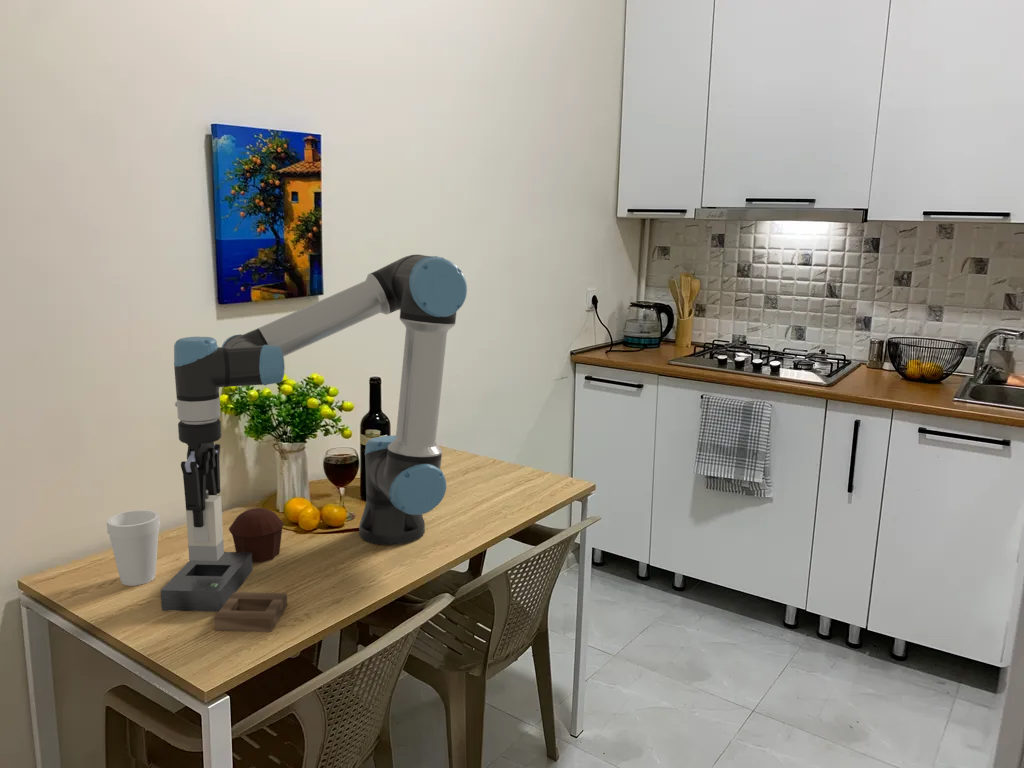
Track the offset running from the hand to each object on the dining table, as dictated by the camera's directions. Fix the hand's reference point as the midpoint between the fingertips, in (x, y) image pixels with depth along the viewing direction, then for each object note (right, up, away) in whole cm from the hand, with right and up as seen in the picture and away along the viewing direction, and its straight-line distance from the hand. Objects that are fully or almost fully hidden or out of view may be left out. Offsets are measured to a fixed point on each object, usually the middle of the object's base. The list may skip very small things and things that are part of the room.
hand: (205, 536), depth 157 cm
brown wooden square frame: (+12, -13, -9) cm, 20 cm away
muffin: (+4, -8, +19) cm, 21 cm away
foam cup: (-16, -10, +6) cm, 20 cm away
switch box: (0, -11, +2) cm, 11 cm away
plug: (0, -4, +1) cm, 4 cm away
